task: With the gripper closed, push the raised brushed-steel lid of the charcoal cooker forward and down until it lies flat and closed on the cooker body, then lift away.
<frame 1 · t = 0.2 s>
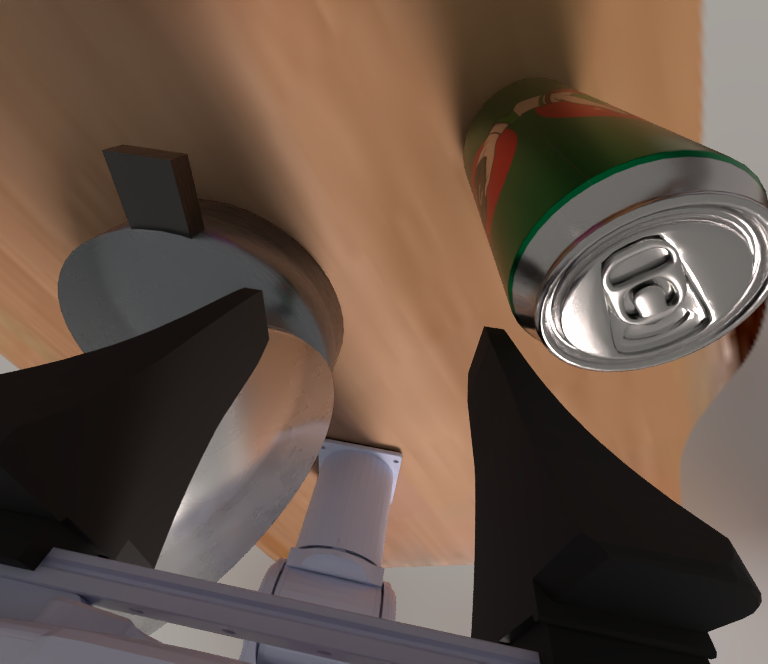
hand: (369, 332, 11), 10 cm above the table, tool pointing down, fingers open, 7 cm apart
cooker body: (235, 313, 25), on the table
soda can: (517, 143, 16), on the table
lid: (136, 538, 14), point 15 cm above the table, hinge at 60.0°
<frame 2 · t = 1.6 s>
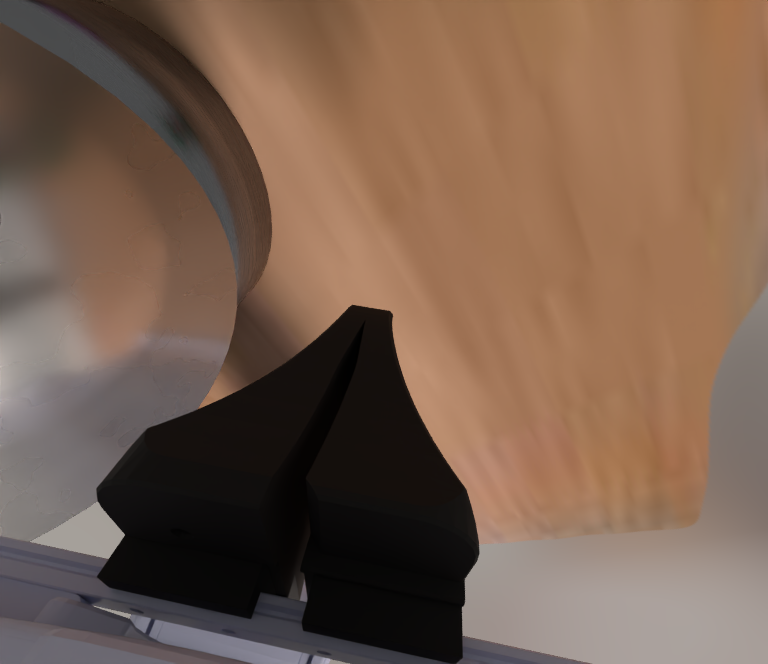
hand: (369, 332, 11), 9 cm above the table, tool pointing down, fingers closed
cooker body: (131, 193, 19), on the table
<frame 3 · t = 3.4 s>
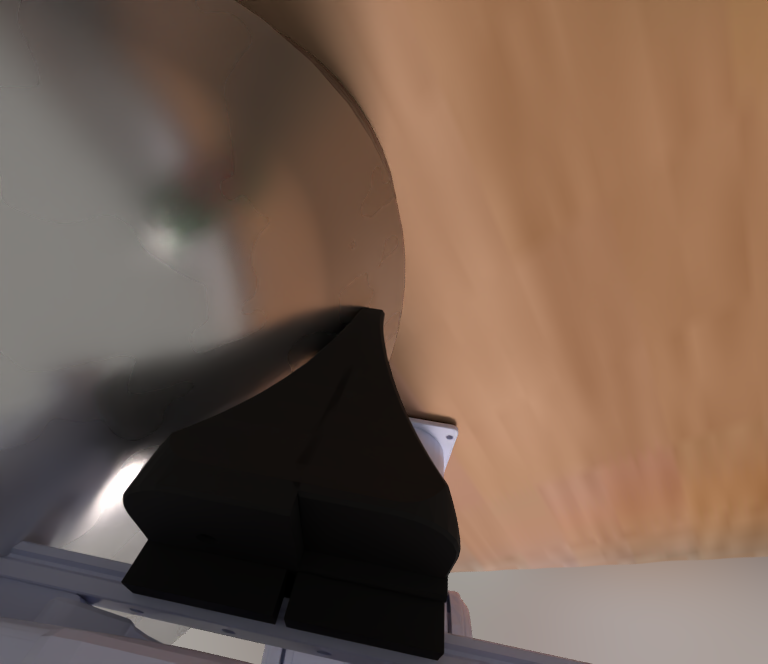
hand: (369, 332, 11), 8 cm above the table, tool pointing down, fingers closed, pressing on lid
cooker body: (243, 219, 18), on the table
lid: (46, 521, 6), point 15 cm above the table, hinge at 59.3°, touching gripper
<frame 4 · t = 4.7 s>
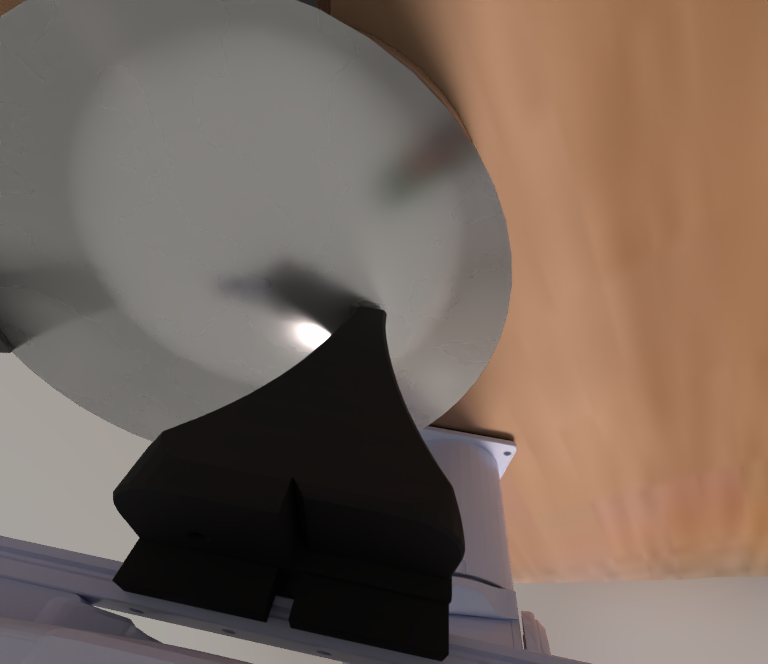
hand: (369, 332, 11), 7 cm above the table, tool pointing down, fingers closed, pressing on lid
cooker body: (319, 233, 17), on the table
lid: (186, 318, 11), point 8 cm above the table, hinge at 11.5°, touching gripper
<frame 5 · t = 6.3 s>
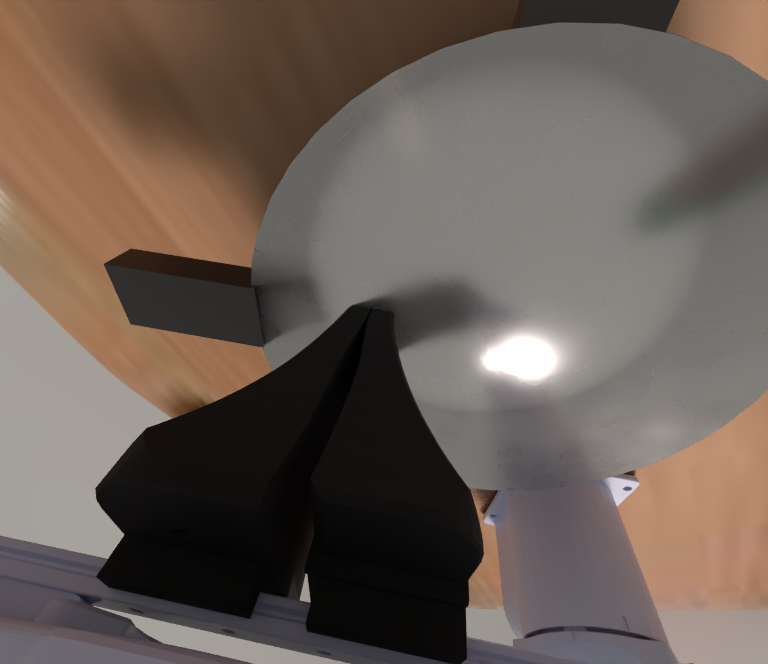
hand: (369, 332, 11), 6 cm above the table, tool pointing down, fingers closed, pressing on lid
cooker body: (479, 267, 16), on the table
lid: (420, 335, 12), point 6 cm above the table, hinge at -0.4°, touching gripper
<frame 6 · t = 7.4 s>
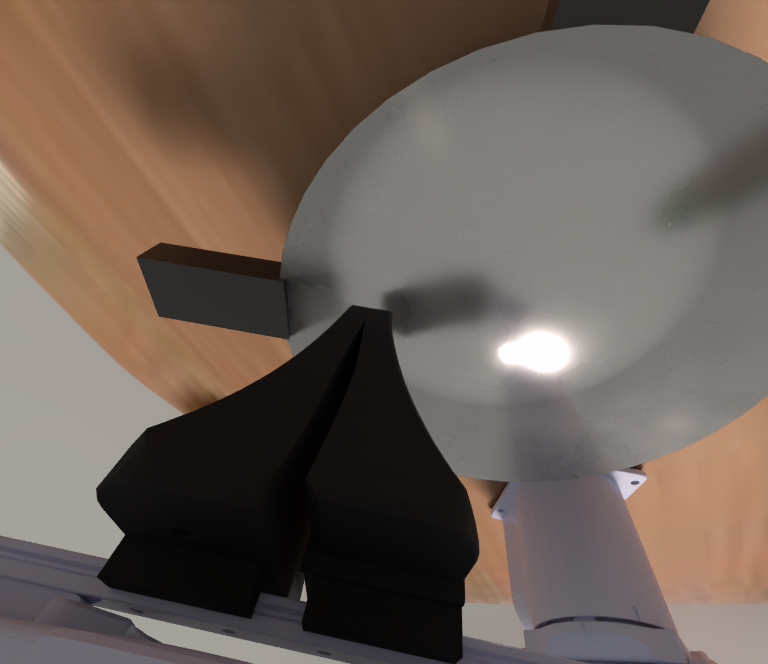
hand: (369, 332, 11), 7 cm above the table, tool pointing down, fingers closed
cooker body: (494, 263, 16), on the table
lid: (443, 328, 12), point 6 cm above the table, hinge at -0.7°
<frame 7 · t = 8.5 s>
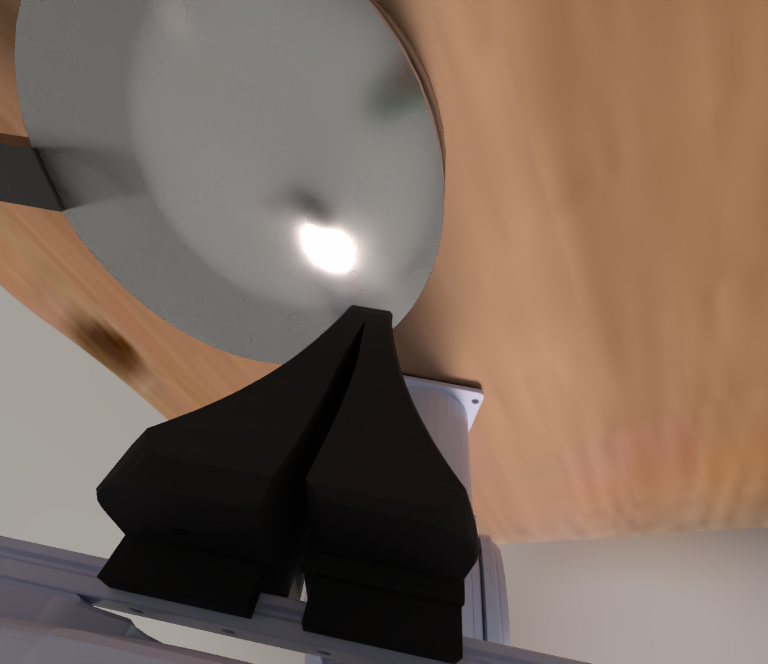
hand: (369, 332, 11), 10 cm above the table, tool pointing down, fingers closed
cooker body: (291, 172, 18), on the table
lid: (184, 198, 14), point 6 cm above the table, hinge at -0.7°
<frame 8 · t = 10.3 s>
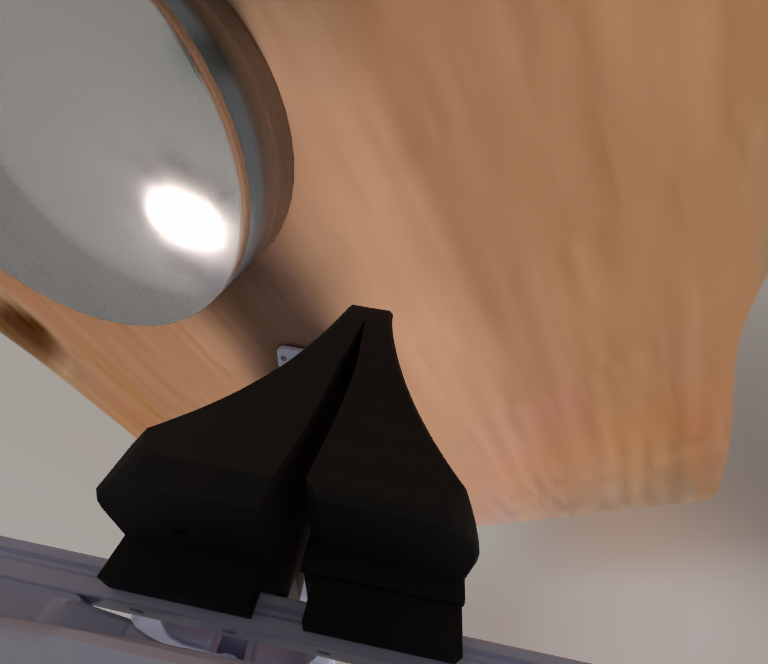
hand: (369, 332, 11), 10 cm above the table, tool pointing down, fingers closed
cooker body: (151, 139, 19), on the table
lid: (3, 152, 14), point 6 cm above the table, hinge at -0.7°
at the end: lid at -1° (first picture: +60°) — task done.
